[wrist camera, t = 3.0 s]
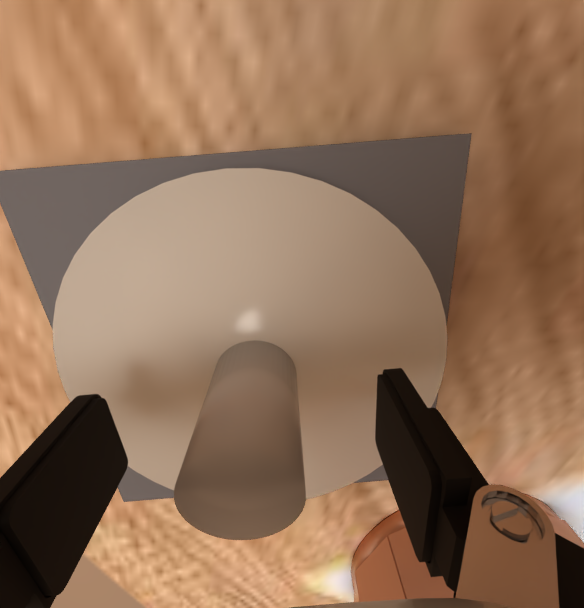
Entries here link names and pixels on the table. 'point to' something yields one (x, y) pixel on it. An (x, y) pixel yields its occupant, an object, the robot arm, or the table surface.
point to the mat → (300, 160)
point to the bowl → (409, 562)
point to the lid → (247, 339)
